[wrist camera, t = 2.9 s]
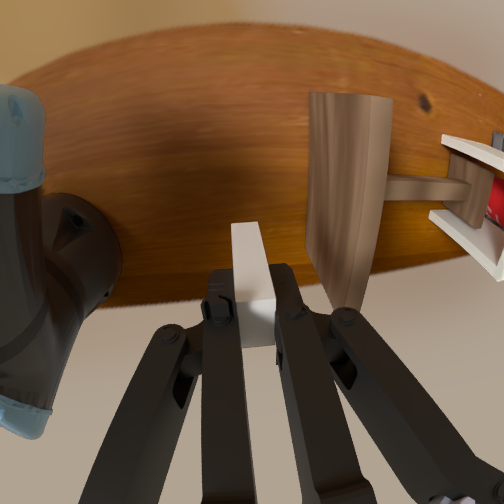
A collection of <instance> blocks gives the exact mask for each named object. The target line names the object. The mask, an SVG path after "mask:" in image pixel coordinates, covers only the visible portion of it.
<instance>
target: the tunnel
mask: <svg viewBox="0 0 504 504" xmlns="http://www.w3.org/2000/svg"><path fill="white" fill-rule="evenodd" d="M441 144H444V145H446V146H449V147H451V148H454V149H456V150H458V151H461V152H463V153H465V154H468V155H470V156H472V157H474V158H476V159H479V160H481V161H483V162H485V163H487V164H489V165H491V166H493V167H495V168H497V169H499V170H501V171H502V172H504V152H502V151H500V150H497V149H495V148H493V147H490V146H488V145H485V144H482V143H478V142H474V141H470V140H466V139H462V138H458V137H453V136H449V135H444V134H442V141H441ZM429 219H430V220H431V221H433V222H434V223H435V224H436V225H437V226H439V227H440V228H441V229H442V230H443V231H445V232H446V233H447V234H448V235H449V236H450V237H452V238H453V239H454V240H455V241H456V242H457V243H458V244H459V245H461V246H462V247H463V248H464V249H465V250H466V251H467V252H468V253H469V254H470V255H471V256H472V257H474V258H475V259H476V260H477V261H478V262H479V263H480V264H481V265H482V266H483V267H484V268H485V269H486V270H487V271H488V272H489V273H490V274H491V275H492V276H493V277H494V278H495V279H496V280H497V281H498V282H500V281H502V280H504V232H503V231H502V230H501V229H500V228H498V227H497V226H496V225H494V224H493V223H492V222H490V221H489V220H488V219H486V218H485V217H484V221H483V224H482V227H481V229H475V228H474V227H473V226H471V225H470V224H469V223H468V222H466V221H465V220H464V219H462V218H461V217H460V216H458V215H457V214H456V213H454V212H453V211H452V210H430V213H429Z"/></svg>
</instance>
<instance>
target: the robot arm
mask: <svg viewBox="0 0 504 504" xmlns="http://www.w3.org/2000/svg"><path fill="white" fill-rule="evenodd" d="M45 121H46V115H45V109H44V106H43V103H42V101H41V100H40V98H39V97H38V96H37V95H36V94H35V93H33V92H32V91H30V90H28V89H25V88H21V87H16V86H10V85H2V84H0V426H1V427H3V428H5V429H7V430H8V431H11V432H12V433H14V434H16V435H18V436H21V437H23V438H26V439H31V440H33V439H37V438H39V437H40V436H41V435H42V434H43V432H44V429H45V426H46V423H47V420H48V418H49V416H50V415H51V414H52V412H53V409H52V406H53V402H54V399H55V396H56V392H57V389H58V386H59V383H60V380H61V377H62V374H63V371H64V368H65V366H66V363H67V360H68V357H69V355H70V352H71V349H72V347H73V344H74V342H75V339H76V337H77V334H78V332H79V329H80V327H81V325H82V323H83V321H84V320H85V319H86V318H87V317H88V316H89V315H90V314H91V313H92V312H93V311H94V310H96V309H97V308H98V307H99V305H101V304H102V303H103V302H104V301H105V300H106V299H107V298H108V297H109V296H110V295H111V293H112V292H113V290H114V288H115V286H116V283H117V281H118V279H119V276H120V273H121V268H122V256H121V250H120V246H119V243H118V240H117V238H116V235H115V233H114V231H113V230H112V228H111V226H110V225H109V223H108V222H107V220H106V219H105V218H104V217H103V216H102V215H101V213H100V212H99V211H97V210H96V209H95V208H94V207H93V206H92V205H90V204H89V203H87V202H86V201H84V200H82V199H81V198H78V197H76V196H73V195H70V194H65V193H52V194H47V195H45V196H42V197H41V185H42V182H43V181H44V179H45V172H46V169H45V167H44V164H43V145H44V132H45ZM231 234H232V253H233V268H232V269H220V270H213V271H212V273H211V274H210V276H209V283H208V284H209V285H208V296H207V297H205V298H204V299H203V300H202V303H201V310H202V314H203V319H204V320H203V321H202V322H201V323H199V324H198V325H196V326H193V327H190V328H187V329H183V327H181V326H180V325H177V324H168V325H164V326H162V327H160V328H159V329H157V331H156V332H155V333H154V335H153V337H152V339H151V341H150V343H149V345H148V347H147V349H146V351H145V353H144V355H143V357H142V359H141V361H140V363H139V365H138V367H137V369H136V371H135V373H134V375H133V377H132V379H131V381H130V383H129V386H128V387H127V390H126V392H125V394H124V396H123V398H122V400H121V403H120V405H119V407H118V409H117V411H116V413H115V416H114V418H113V420H112V422H111V424H110V427H109V429H108V431H107V434H106V436H105V438H104V441H103V443H102V445H101V447H100V450H99V452H98V455H97V457H96V460H95V462H94V464H93V467H92V469H91V472H90V474H89V477H88V479H87V482H86V484H85V487H84V489H83V492H82V495H81V497H80V500H79V503H78V504H158V502H159V499H160V495H161V492H162V489H163V486H164V482H165V479H166V476H167V473H168V470H169V467H170V463H171V460H172V457H173V454H174V451H175V447H176V444H177V441H178V438H179V435H180V432H181V429H182V425H183V423H184V419H185V416H186V413H187V410H188V407H189V404H190V401H191V398H192V395H193V391H194V389H195V385H196V383H197V380H198V375H201V374H202V399H201V405H202V406H201V444H202V445H201V448H202V449H201V450H202V451H201V452H202V491H203V497H202V502H201V504H258V503H257V495H256V487H255V478H254V469H253V460H252V451H251V441H250V432H249V422H248V412H247V401H246V392H245V380H244V370H243V358H242V349H241V348H249V347H260V346H270V345H275V341H276V347H277V352H276V353H277V354H276V365H278V366H279V372H280V377H281V382H282V388H283V393H284V399H285V404H286V410H287V415H288V421H289V426H290V432H291V437H292V443H293V448H294V454H295V459H296V465H297V470H298V476H299V482H300V487H301V493H302V504H377V501H376V497H375V494H374V491H373V488H372V485H371V484H370V482H369V481H368V480H367V479H365V478H364V477H363V475H362V473H361V470H360V466H359V463H358V459H357V455H356V452H355V448H354V445H353V441H352V438H351V434H350V431H349V428H348V424H347V421H346V418H345V414H344V411H343V408H342V405H341V401H340V398H339V395H338V392H337V388H336V385H335V382H336V384H337V385H338V387H339V388H340V390H341V391H342V393H343V394H344V396H345V397H346V399H347V401H348V402H349V404H350V405H351V407H352V408H353V410H354V411H355V413H356V414H357V416H358V418H359V419H360V421H361V422H362V424H363V425H364V427H365V428H366V430H367V431H368V433H369V435H370V436H371V438H372V439H373V441H374V442H375V444H376V445H377V447H378V448H379V450H380V451H381V453H382V455H383V456H384V458H385V459H386V461H387V462H388V464H389V465H390V467H391V468H392V470H393V471H394V473H395V475H396V476H397V477H398V479H399V481H400V482H401V484H402V485H403V487H404V488H405V490H406V491H407V493H408V494H409V495H410V496H411V498H412V499H414V501H415V502H416V503H417V504H504V473H503V472H502V471H500V470H498V469H496V468H495V467H493V466H491V465H489V464H488V463H486V462H484V461H483V460H481V459H479V458H478V457H476V456H475V454H474V453H473V452H472V450H471V449H470V448H469V446H468V445H467V444H466V442H465V441H464V439H463V438H462V437H461V435H460V434H459V433H458V431H457V430H456V429H455V427H454V426H453V425H452V423H451V422H450V421H449V420H448V418H447V417H446V416H445V414H444V413H443V412H442V411H441V409H440V408H439V407H438V405H437V404H436V403H435V402H434V400H433V399H432V398H431V397H430V395H429V394H428V393H427V392H426V390H425V389H424V388H423V387H422V385H421V384H420V383H419V382H418V380H417V379H416V378H415V377H414V375H413V374H412V373H411V372H410V371H409V369H408V368H407V367H406V366H405V365H404V363H403V362H402V361H401V360H400V359H399V357H398V356H397V355H396V354H395V353H394V351H393V350H392V349H391V348H390V347H389V346H388V344H387V343H386V342H385V341H384V340H383V339H382V337H381V336H380V335H379V334H378V333H377V332H376V330H375V329H374V328H373V327H372V326H371V325H370V323H369V322H368V321H367V320H366V319H365V318H364V317H363V316H362V314H361V313H360V312H358V311H357V310H356V309H353V308H351V307H340V308H337V309H335V310H334V311H333V312H332V314H331V315H326V314H319V313H315V312H312V311H311V310H310V309H309V307H308V306H306V305H305V304H304V303H303V300H302V297H301V294H300V291H299V288H298V285H297V283H296V279H295V277H294V274H293V271H292V269H291V268H290V267H289V266H288V265H287V264H286V263H282V264H270V265H268V263H267V259H266V255H265V251H264V246H263V242H262V238H261V234H260V230H259V226H258V222H246V223H233V224H231ZM334 381H335V382H334Z"/></svg>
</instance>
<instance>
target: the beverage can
mask: <svg viewBox="0 0 504 504" xmlns="http://www.w3.org/2000/svg"><path fill="white" fill-rule="evenodd" d="M486 214H487V215H488V216H489V217H491V218H492V219H494V220H495V221H496V222H498V223H499V224H500V225H501V226H503V227H504V180H503V179H501V178H499V177H497V176H495V175H494V180H493V185H492V189H491V194H490V198H489V202H488V206H487V210H486Z"/></svg>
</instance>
